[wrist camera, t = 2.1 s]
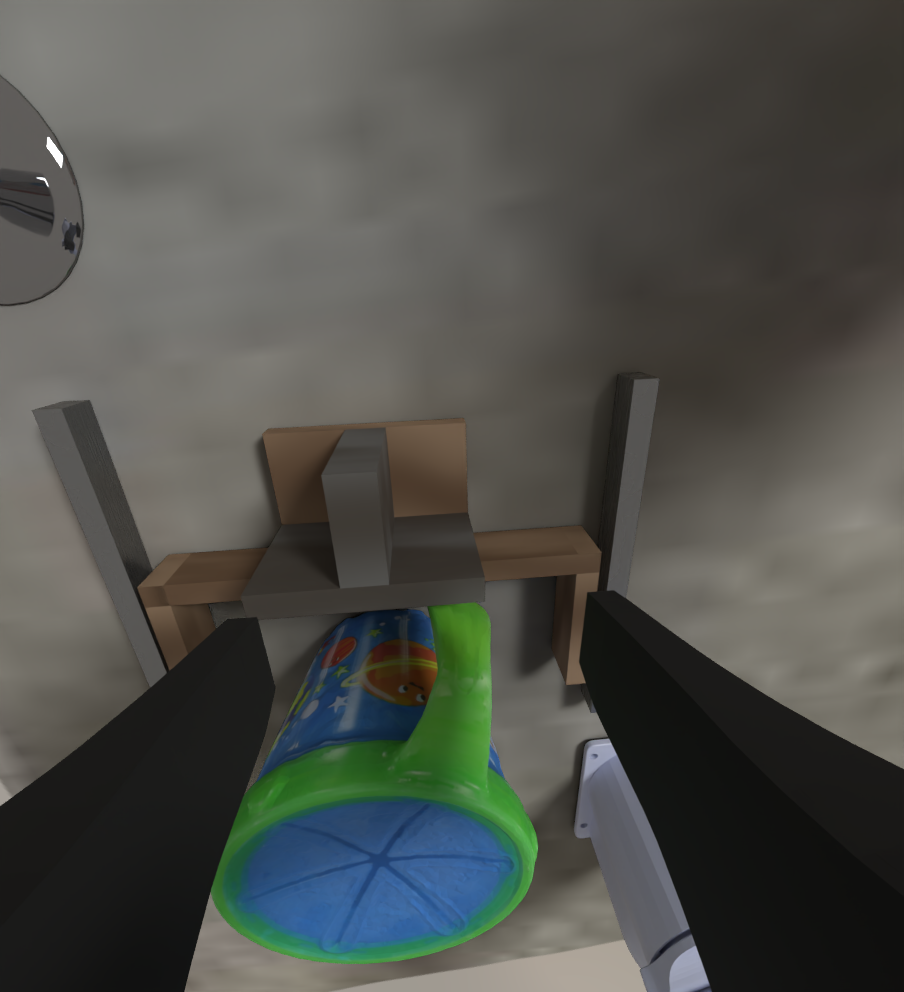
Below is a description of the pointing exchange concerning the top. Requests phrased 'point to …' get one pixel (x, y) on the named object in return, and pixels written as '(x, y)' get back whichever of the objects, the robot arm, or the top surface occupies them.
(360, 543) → the pull frame
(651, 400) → the guide rails
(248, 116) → the top surface
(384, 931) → the snack cup
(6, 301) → the wine glass
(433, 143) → the top surface
